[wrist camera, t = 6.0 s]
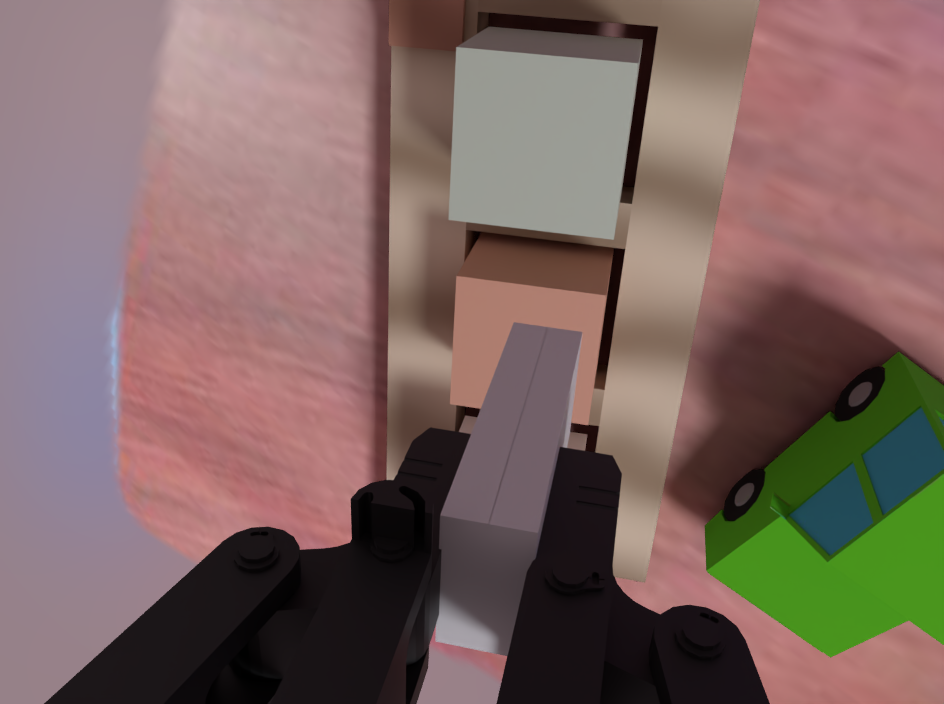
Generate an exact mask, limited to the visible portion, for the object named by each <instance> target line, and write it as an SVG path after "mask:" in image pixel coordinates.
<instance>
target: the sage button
mask: <svg viewBox="0 0 944 704" xmlns="http://www.w3.org/2000/svg"><path fill="white" fill-rule="evenodd" d="M642 44H643V40H642V39H630V38H619V37H607V36H595V35H583V34H571V33H560V32H548V31H536V30H524V29H513V28H501V27H488V28H486V29H484V30H483V31H481V32H480V33H478V34H476V35H475V36H473V37H472V38H470V39H468V40H467V41H465V42H464V43H462V44H460V45H459V46H457V47H456V65H455V87H454V110H453V132H452V154H451V177H450V199H449V220H454V221H462V222H470V223H479V224H487V225H495V226H503V227H512V228H520V229H528V230H537V231H545V232H553V233H561V234H570V235H578V236H586V237H595V238H603V239H611V240H614V235H615V229H616V223H617V217H618V211H619V205H620V199H621V193H622V186H623V178H624V171H625V164H626V157H627V150H628V143H629V136H630V129H631V122H632V115H633V107H634V100H635V93H636V86H637V79H638V72H639V65H640V58H641V51H642Z"/></svg>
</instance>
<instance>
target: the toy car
mask: <svg viewBox="0 0 944 704" xmlns="http://www.w3.org/2000/svg"><path fill="white" fill-rule="evenodd" d="M882 366H883V367H884V368H885V370H883V369H882V368H880V367H876V368H872V369H867V370H866V371H864V372H863V373H861V374H860V375H858V376H857V377H856V378H855V379H854V380H853V381H852V382H850V383H849V384H848V386H847V387H846V388H845V389H844V390H843V391H842V393H841V395H840V397H839V399H838V401H837V403H836V407H835V414H833V413H832V412H831V411H830V412H828V413H827V414H826V415H825V416H824V417H823V418H822V419H820V420H819V421H818V422H817V423H816V424H815V425H814V426H812V427H811V428H810V429H809V430H808V431H807V432H806V433H804V434H803V435H802V436H801V437H800V438H799V439H798V440H796V441H795V442H794V443H793V444H792V445H791V446H790V447H788V448H787V449H786V450H785V451H784V452H783V453H782V454H780V455H779V456H778V457H777V458H776V459H775V460H774V461H772V462H771V463H770V464H769V465H768V466H767V467H766V468H765V469H764V471H763V470H762V469H760V470H752V471H751V472H749V473H748V474H746V475H745V476H744V477H743V478H742V479H741V480H739V481H738V482H737V483H736V485H735V486H734V487H733V488H732V490H731V491H730V493H729V495H728V497H727V499H726V501H725V506H724V510H721V511H720V512H719V513H718V514H717V515H715V516H714V517H713V518H712V519H711V520H710V521H709V522H708V523H707V524H706V525H705V545H706V570H707V572H708V573H709V574H710V575H712V576H713V577H715V578H716V579H717V580H719V581H720V582H722V583H723V584H725V585H726V586H727V587H729V588H731V589H732V590H733V591H735V592H736V593H738V594H739V595H741V596H742V597H743V598H745V599H746V600H748V601H749V602H751V603H752V604H754V605H755V606H756V607H758V608H759V609H761V610H762V611H764V612H765V613H766V614H768V615H769V616H771V617H772V618H774V619H775V620H776V621H778V622H779V623H781V624H782V625H784V626H785V627H786V628H788V629H789V630H791V631H792V632H794V633H795V634H796V635H798V636H799V637H801V638H802V639H803V640H805V641H806V642H808V643H809V644H811V645H812V646H813V647H815V648H817V649H818V650H819V651H821V652H824V653H825V654H826V655H828V656H829V657H832V656H835V655H837V654H839V653H841V652H843V651H845V650H847V649H849V648H851V647H854V646H856V645H858V644H860V643H862V642H864V641H866V640H868V639H870V638H873V637H875V636H877V635H879V634H881V633H883V632H885V631H887V630H889V629H892V628H894V627H896V626H898V625H900V624H902V623H904V622H906V621H908V620H909V621H911V622H912V623H913V624H915V625H916V626H918V627H919V628H920V629H922V630H923V631H925V632H926V633H927V634H929V635H930V636H932V637H933V638H934V639H936V640H937V641H939V642H940V643H942V644H943V645H944V385H942V384H941V383H940V382H938V381H937V380H936V379H934V378H933V377H932V376H930V375H929V374H928V373H926V372H925V371H924V370H922V369H921V368H920V367H918V366H917V365H916V364H914V363H913V362H912V361H910V360H909V359H908V358H906V357H905V356H904V355H903V354H901V353H900V352H899V351H898V352H897V353H896V354H895V355H894V356H893V357H891V358H890V359H889V360H888V361H887V362H886V363H885V364H883V365H882Z"/></svg>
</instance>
